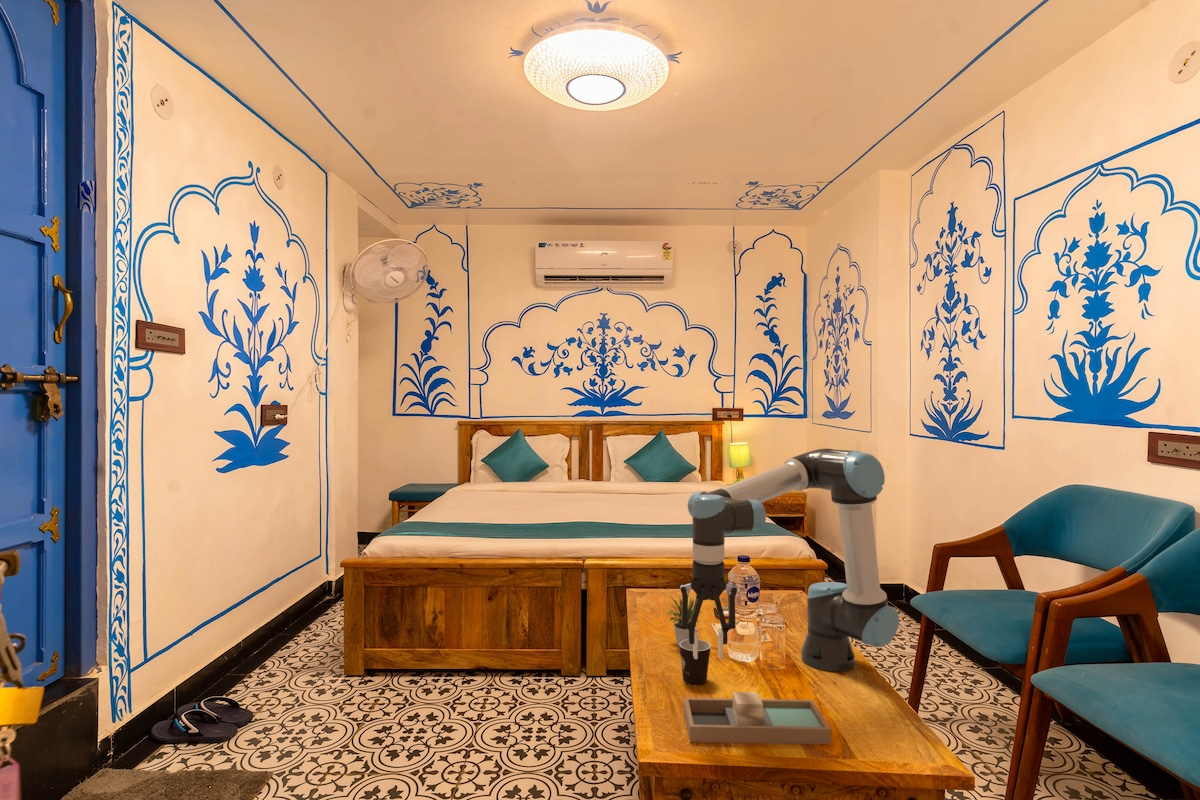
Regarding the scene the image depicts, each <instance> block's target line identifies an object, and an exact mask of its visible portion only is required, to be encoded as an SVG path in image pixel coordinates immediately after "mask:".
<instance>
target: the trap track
mask: <svg viewBox="0 0 1200 800" xmlns="http://www.w3.org/2000/svg"><path fill="white" fill-rule="evenodd" d="M760 699H761V701H762V703H763V726H755V725H737V723H736V720H735V718H734V715H733V698H728V697H727V698H725V697H724V698H722V697H718V698H717V697H715V698H714V697H683V714H684V719H685V724H686V729H687V733H688V740H689V743H727V744H728V743H732V744H735V743H736V744H737V743H738V744H770V745H771V744H776V745H777V744H779V745H780V744H781V745H783V744H784V745H819V744H831V745H832V728H831V727H830V726H829V724H828V722H827V720H826V719H825V718H824V716H823V714H822V713H821V711H820V710H819V708H818V706H817V704H816V703H815V701H814V699H784V698H783V699H780V698H779V699H777V698H776V699H775V698H774V699H773V698H772V699H771V698H769V699H768V698H760Z"/></svg>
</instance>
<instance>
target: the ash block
mask: <svg viewBox="0 0 1200 800" xmlns="http://www.w3.org/2000/svg"><path fill="white" fill-rule="evenodd" d="M732 699H733V715H734V718H735V720H736V723H737V725H755V726H763V703H762V701H761V699H762V698H761V697H760V695H759V693H758V692H757V691H755V692H753V691H752V692H751V691H750V692H749V691H748V692H747V691H746V692H745V691H734V692H732Z"/></svg>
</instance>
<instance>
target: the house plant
mask: <svg viewBox="0 0 1200 800" xmlns="http://www.w3.org/2000/svg"><path fill="white" fill-rule="evenodd" d="M665 595H666V596H668V598H669V597H670V599H672V601H673V602H674V605H673V604H671V603H670V602H668V601H665V603H668V604H666V605H667V606H671V607H672V608H673V609H674V610H675V612H674V611H673V610H672V609H671V608H668V607H667V609H668V610H669V612H667V613H666V615H667V616H668V617H670V619H669V620H668V622H669V621H673V622H672V623H673V629H674V633H675V635H674V636H675V642H676V646H677V645H678V647H679V648H680V646H679V643H680V642H681V641H683V640H686V639H689V630H688V629H686V628H683V627H682V624H681V611H682V598H679V605H678V602H677V600H675V599H674V597H673V596H670V595H668V594H664V596H665ZM687 595H688V598H689V596H690V599H689V602H688V615H687V622H689V621H690V618H691V614H692V611H693V607H694V604H695V597H693V596H692V594H691V595H690V593H689V594H687ZM701 613H702V614H703V613H704V612H703V611H700V612H699V614H701ZM669 614H670V615H669ZM671 615H673V617H671ZM697 622H698V623H700V622H699V620H697ZM695 628H697V625H696V626H695Z"/></svg>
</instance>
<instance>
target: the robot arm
mask: <svg viewBox="0 0 1200 800" xmlns="http://www.w3.org/2000/svg"><path fill="white" fill-rule="evenodd" d="M885 481H886V480H885V471H884V469H883V465H882V463H881V461H880V460H879V459H877V457H875V456H874V455H873V454H871V453H867V452H862V451H858V450H847V449H845V450H843V449H834V448H820V449H819V448H818V449H814V450H811V451H807V452H804V453H801V454H798V455H795V456H793V457H790V458H788V459H785V461H784V462H783V464H781V465H779V466H777V467H774V468H771V469H768V470H766V471H763V472H761V473H757V474H755V475H753V476H751V477H748V478H744V479H742V480H740V481H737V482H734V483H731V484H729V485H725V486H723V487H721V488H719V489H714V490H712V491H710V492H707V491H696V492H694V493H692V494H691V495H690V497H689V499H688V501H687V510H688V513H689V515H690V516H691V517H692V559H693V560H692V570H691V571H692V575H691V576H692V578H691V580H690V583H686V584H683V583H681V584H680V586H679V588H680V591H681V600H682V611H681V624H682V627H683V628H686V629H688V630H689V642H690V644H693V656H694V659H698V639H699V638H698V636H699V635H698V634H699V632H698V631H699V630H698V628H697V621H698V618H699V615H700V613H699V612H701V608H702V605H703V603H704V601H709V600H710V601H714V604H715V609H716V611H717V616H718V619H719V622H720V626H721V627H718V628H717V632H718V633H717V635H718V636H717V657H718V658H719V660H722V661H723V660H724V645H727V644H728V640H729V639H728V635H729V634H728V633H729V631H730V630H734V629H736V595H737V594H738V593H737V592H738V588H737V587H736V585H734V584H731V585H730V584H728V583H727V582H726V580H725V562H724V560H725V542H726V541H725V539H726V538H725V535H726V534H728V535H729V534H735V533H736V534H737V533H743V532H744V533H746V532H753V531H756V530H757V531H758V530H760V529H761V528H763V527H764V526H765V524H766V520H767V513H766V508H765V506H764V505H763V503H764V502H766V501H769V500H771V499H775V498H777V497H779V496H782V495H784V494H786V493H789V492H792V491H796V492H803V491H804V490H807V489H821V490H826V491H830V496H831V502H832V503H833V504H835V505H836V506H837V508H838V517H839V525H840V526H839V527H840V535H841V543H842V553H843V560H844V561H843V563H844V564H843V565H844V571H845V581H846V583H844V582H838V581H837V582H836V581H821V582H816V583H812V584H810V585H809V587H808V590H807V591H808V592H807V597H806V598H807V599H806V600H807V601H806V602H807V603H806V604H807V634H806V636H805V640H804V642H803V645H802V648H801V655H800V656H801V660H802V661H803V662H804V664H806V665H808V666H809V667H812V668H815V669H818V670H821V671H826V672H827V671H829V672H845V671H846V672H847V671H850V670H852V669H854V668H855V666H856V656H855V652H854V648H853V646H852V643H851V639H850V638H852V639H855V640H857V641H859V642H862V643H863V644H864V645H868V646H872V647H874V648H882V647H885V646H887V645H888V644H890V643H891V641H893V640H894V638H895V636H896V634H897V632H898V629H899V625H900V616H899V613H898V611H897V610H896V609H895V608H894V606H891V605H889V604H888V596H887V595H888V594H887V593H886V592H885V591H884V590H883V589H882V588H881V583H880V577H879V576H880V575H879V574H880V573H879V565H878V564H879V562H878V554H877V545H876V543H877V542H876V535H875V525H874V516H873V509H872V508H873V507H872V506H873V504H874V503H875V502H877V500H878V497H877V496H879V495H880V493H881V492H882V491H883V489H884V487H883V486H884V485H885ZM691 589H692V591H693V592H694V593H695V595H696V596H695V599H694V604H693V607H692V610H693V611H692V614H691V618H690V620H689V622H687V615H688V607H689V597H688V594H689V595H690V593H691ZM725 590H726V592H725V593H726V594H727V601H728V602H727V606H728V607H727V609H728V611H727V612H728V613H727V615H728V622H727V620H726V617H725V613H724V610H723V609H724V608H723V606H722V603H721V602H722V601H721V599H720V597H721V595H722V594H723V592H724V591H725ZM695 626H696V628H695Z"/></svg>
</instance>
